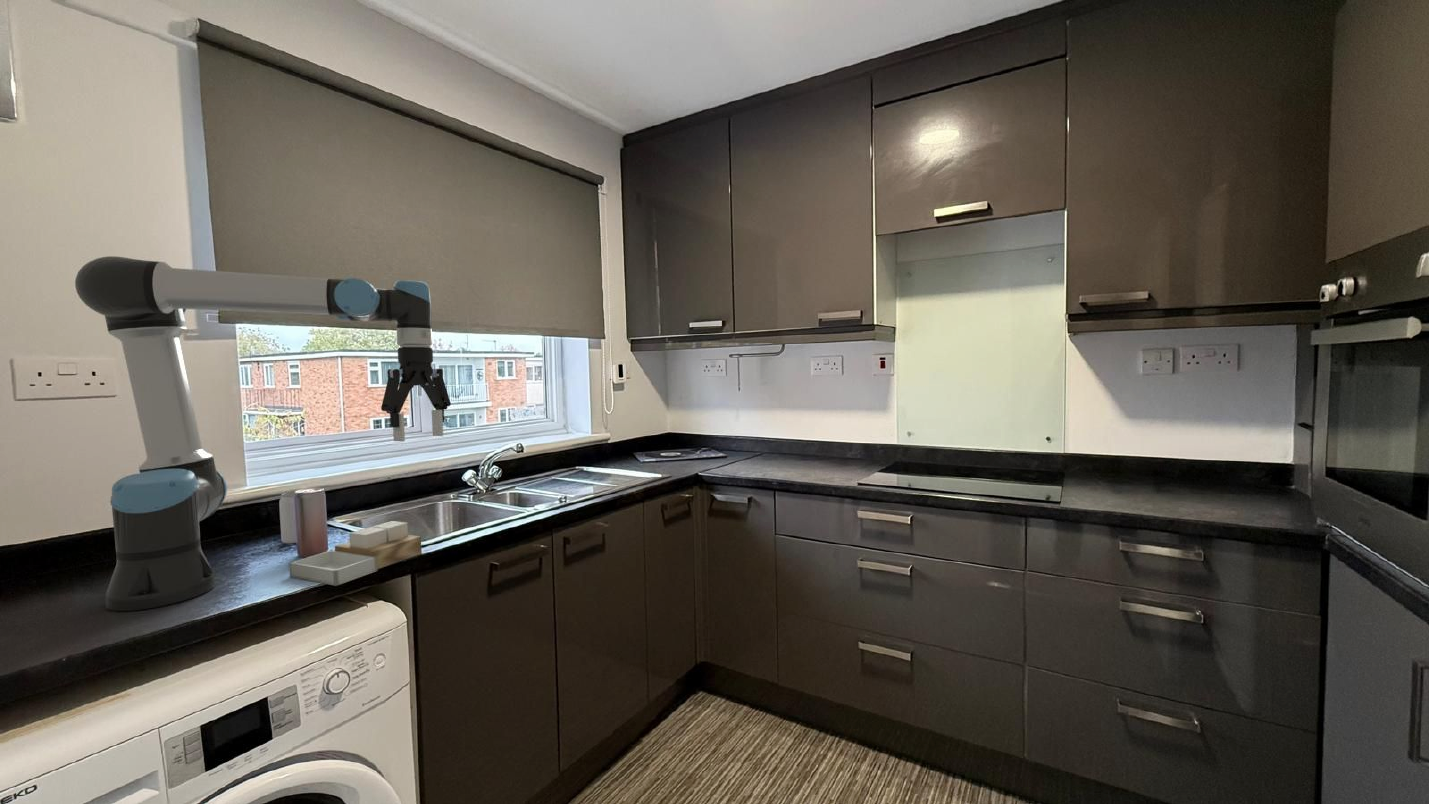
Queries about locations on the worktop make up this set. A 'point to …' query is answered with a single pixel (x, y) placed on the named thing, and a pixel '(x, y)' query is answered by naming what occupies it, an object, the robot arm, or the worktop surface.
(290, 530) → the can
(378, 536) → the tile front
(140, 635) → the worktop surface
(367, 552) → the board
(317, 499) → the beverage can
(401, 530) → the tile rear
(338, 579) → the tray
